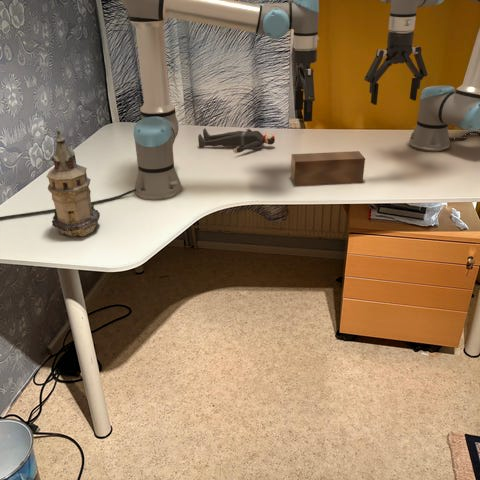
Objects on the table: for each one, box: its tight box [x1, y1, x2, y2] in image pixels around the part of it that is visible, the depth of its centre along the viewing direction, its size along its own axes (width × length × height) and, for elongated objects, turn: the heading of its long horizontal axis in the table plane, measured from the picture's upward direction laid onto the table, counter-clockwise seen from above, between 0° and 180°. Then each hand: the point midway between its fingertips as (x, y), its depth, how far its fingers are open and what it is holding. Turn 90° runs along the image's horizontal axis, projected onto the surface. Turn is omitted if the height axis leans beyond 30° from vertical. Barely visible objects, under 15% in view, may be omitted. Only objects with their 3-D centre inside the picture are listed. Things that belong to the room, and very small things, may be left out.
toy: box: [197, 128, 276, 154], centre depth 214 cm, size 26×6×30 cm
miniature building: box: [46, 129, 101, 237], centre depth 148 cm, size 13×14×30 cm
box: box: [290, 150, 366, 187], centre depth 182 cm, size 24×7×9 cm, turn 95°
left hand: (303, 115), depth 179 cm, fingers open, 13 cm apart
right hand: (393, 101), depth 171 cm, fingers open, 13 cm apart
